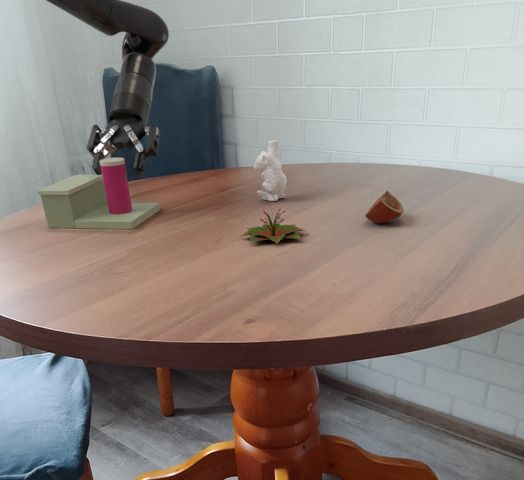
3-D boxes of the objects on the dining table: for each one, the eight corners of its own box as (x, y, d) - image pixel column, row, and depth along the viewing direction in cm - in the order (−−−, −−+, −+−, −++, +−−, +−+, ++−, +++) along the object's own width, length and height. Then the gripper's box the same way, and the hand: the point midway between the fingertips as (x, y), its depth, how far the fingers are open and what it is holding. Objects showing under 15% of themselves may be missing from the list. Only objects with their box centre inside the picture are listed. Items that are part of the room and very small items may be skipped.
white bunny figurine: (265, 194, 122) (263, 137, 116) (293, 195, 120) (292, 138, 114) (251, 203, 115) (247, 144, 110) (280, 205, 113) (278, 144, 107)
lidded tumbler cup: (117, 215, 106) (108, 162, 101) (104, 212, 109) (94, 160, 104) (137, 210, 109) (129, 158, 104) (124, 207, 112) (115, 156, 107)
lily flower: (240, 250, 89) (238, 222, 86) (237, 229, 99) (236, 204, 97) (313, 245, 89) (313, 217, 87) (302, 224, 100) (302, 199, 97)
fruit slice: (369, 215, 103) (371, 188, 101) (405, 216, 101) (408, 189, 98) (360, 227, 96) (361, 199, 94) (398, 229, 94) (401, 201, 92)
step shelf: (131, 229, 102) (125, 190, 99) (46, 228, 106) (36, 190, 103) (160, 209, 115) (156, 174, 111) (83, 208, 119) (76, 174, 115)
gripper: (91, 91, 108) (74, 161, 104) (157, 88, 105) (142, 160, 101) (108, 116, 115) (93, 183, 111) (170, 114, 112) (157, 183, 108)
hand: (116, 172), depth 106 cm, fingers open, 8 cm apart
